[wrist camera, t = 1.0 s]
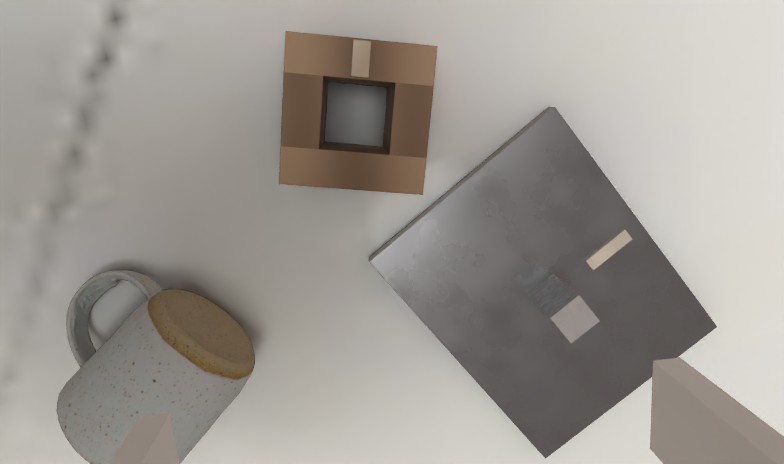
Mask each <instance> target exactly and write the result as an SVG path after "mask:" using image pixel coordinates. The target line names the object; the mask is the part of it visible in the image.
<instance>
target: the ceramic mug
mask: <svg viewBox="0 0 784 464" xmlns="http://www.w3.org/2000/svg"><path fill="white" fill-rule="evenodd" d="M120 279H123V280H126V281H130V282H131V283H132V284H134V285H135V286H136V287H138V288H139V289H140V290H141V292H142V293H144V294H145V295H146V297H147V301H145V302H144V303H142V304H141V305H140V306H139V307H138V308H137V309H136V310H135V311H134V312H133V313H132V314H131V315H130V316H129V317H128V318H127V319H126V320H125V321H124V323H123V324H122V325H121V326H120V327H119V328H118V330H117V331H116V332H115V333H114V334H113V335H112V336H111V337H110V338H109V339H108V340H107V341H106V342H105V343H104V344H103V345H102V346H101V347H100V348H99V349H98V351H97V352H96V350H95V348H94V346H93V343H92V341H91V338H90V334H89V326H88V320H89V312H90V310H91V309H92V305H93V304H94V303H95V301H96V300H97V299H99V298H100V297H101V296H102V295H103V294H104V293H105V292H106V291H107V290H108V289H110V288H112V287H115V286H116V285H117V283H118V281H119V280H120ZM66 326H67V336H68V340H69V344H70V347H71V350H72V352H73V355H74V357H75V359H76V360H77V362H78V364H79V366H80V367H81V368H80V369H79V371H78V372H77V373H76V374H75V375H74V376H73V377H72V378H71V379H70V380H69V381H68V382H67V383H66V385H65V386H64V388H63V389H62V391H61V392H60V394H59V397H58V402H57V414H58V420H59V423H60V426H61V428H62V431H63V433H64V434H65V436H66V438H67V439H68V441H69V442H70V444H71V445H72V447H73V448H74V449H75V450H76V452H78V453H79V454H80V455H81V456H82V457H83V458H84V459H85V460H86V461H88V462H89V463H90V464H109V463H110V461H111V460H112V458H113V457H114V455H115V454H116V452H117V451H118V449H119V448H120V446H121V445H122V443H123V442H124V440H125V439H126V437H127V436H128V434H129V433H130V431H131V430H132V428H133V427H134V425H135V424H136V422H137V421H138V419H139V418H140V416H148V415H157V414H166V413H170V415H171V421H172V426H173V431H174V437H175V442H176V448H177V453H178V458H179V464H180V463H181V462H182V461H183V460H184V458H185V457H186V456H187V454H188V453H189V452H190V451H191V450H192V449H193V447H194V446H195V445H196V444H197V443H198V442H199V440H200V439H201V438H202V437H203V436H204V435H205V433H206V432H207V431H208V430H209V428H210V427H211V426H212V425H213V423H214V422H215V421H216V420H217V418H218V417H219V416H220V414H221V413H222V412H223V411H224V410H225V409H226V408H227V407H228V405H229V404H230V403H231V402H232V401H233V400H234V399H235V397H236V396H237V395H238V394H239V392H240V391H241V389H242V388H243V386H244V385H245V383H246V381H247V380H248V378H249V377H250V375H251V373H252V371H253V368H254V364H255V355H254V349H253V347H252V344H251V341H250V340H249V338H248V336H247V335H246V333H245V331H244V330H243V329H242V328H241V326H240V325H239V324H238V323H237V322H236V321H235V320H234V319H233V318H232V317H231V316H230V315H229V314H228V313H226V312H225V311H224V310H222V309H221V308H220V307H218V306H217V305H216V304H214V303H212V302H211V301H209V300H207V299H206V298H204V297H202V296H200V295H197V294H195V293H192V292H189V291H185V290H175V289H171V290H164V291H162V290H161V288H160V287H159V286H158V285H157V284H156V283H155V282H154V281H153V280H151V279H149V278H148V277H146V276H145V275H143V274H141V273H137V272H134V271H127V270H114V271H107V272H103V273H100V274H98V275H96V276H94V277H92V278H91V279H89V280H88V281H87V282H86V283H85V284H84V285H83V286H82V287H81V288H80V289H79V290H78V291H77V293H76V294H75V295H74V297H73V299H72V300H71V303H70V305H69V308H68V312H67V322H66Z"/></svg>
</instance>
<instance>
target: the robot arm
mask: <svg viewBox="0 0 784 464" xmlns="http://www.w3.org/2000/svg"><path fill="white" fill-rule="evenodd" d="M650 449H651V450H652V451H653V452H654V453H655V455H656V456H657V457H658V458H659V459H660V460H661V461H662V463H663V464H784V436H782V435H781V434H780V433H778V432H777V431H776V430H774V429H773V428H772V427H770V426H769V425H768V424H766V423H765V422H764V421H762V420H761V419H760V418H759V417H757V416H756V415H755V414H753V413H752V412H751V411H749V410H748V409H747V408H745V407H744V406H743V405H741V404H740V403H739V402H737V401H736V400H735V399H734V398H732V397H731V396H730V395H728V394H727V393H726V392H724V391H723V390H722V389H720V388H719V387H718V386H716V385H715V384H714V383H712V382H711V381H710V380H709V379H707V378H706V377H705V376H703V375H702V374H701V373H699V372H698V371H697V370H695V369H694V368H693V367H691V366H690V365H689V364H687V363H686V362H685V361H684V360H682V359H681V358H672V359H662V360H653V377H652V407H651V436H650ZM109 464H179V458H178V453H177V448H176V442H175V437H174V431H173V426H172V421H171V415H170V413H166V414H157V415H148V416H140V418H139V419H138V421H137V422H136V424H135V425H134V427H133V428H132V430H131V431H130V433H129V434H128V436H127V437H126V439H125V440H124V442H123V443H122V445H121V446H120V448H119V449H118V451H117V452H116V454H115V455H114V457H113V458H112V460H111V461H110V463H109Z"/></svg>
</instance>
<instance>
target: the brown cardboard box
mask: <svg viewBox="0 0 784 464" xmlns="http://www.w3.org/2000/svg"><path fill="white" fill-rule="evenodd" d="M436 56H437V46H429V45H419V44H409V43H399V42H389V41H379V40H369V39H359V38H349V37H339V36H329V35H319V34H309V33H299V32H289V31H286V34H285V57H284V80H283V103H282V126H281V149H280V172H279V184H287V185H301V186H314V187H327V188H340V189H354V190H367V191H380V192H393V193H407V194H420V195H423V187H424V177H425V167H426V157H427V147H428V137H429V127H430V117H431V106H432V96H433V86H434V76H435V66H436ZM328 82H337V83H348V84H358V85H369V86H380V87H387V99H386V112H385V124H384V136H383V147H381V146H369V145H357V144H344V143H332V142H325V126H326V109H327V93H328Z"/></svg>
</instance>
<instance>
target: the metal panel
mask: <svg viewBox="0 0 784 464" xmlns="http://www.w3.org/2000/svg"><path fill="white" fill-rule="evenodd" d="M369 262H370V263H371V264H372V265H373V267H374V268H375V269H376V270H377V271H378V272H379V273H380V274H381V276H382V277H383V278H384V279H385V280H386V281H387V282H388V283H389V284H390V286H391V287H392V288H393V289H394V290H395V291H396V292H397V293H398V294H399V296H400V297H401V298H402V299H403V300H404V301H405V302H406V303H407V305H408V306H409V307H410V308H411V309H412V310H413V311H414V312H415V313H416V315H417V316H418V317H419V318H420V319H421V320H422V321H423V322H424V323H425V325H426V326H427V327H428V328H429V329H430V330H431V331H432V332H433V334H434V335H435V336H436V337H437V338H438V339H439V340H440V341H441V342H442V344H443V345H444V346H445V347H446V348H447V349H448V350H449V351H450V352H451V354H452V355H453V356H454V357H455V358H456V359H457V360H458V361H459V363H460V364H461V365H462V366H463V367H464V368H465V369H466V370H467V371H468V373H469V374H470V375H471V376H472V377H473V378H474V379H475V380H476V381H477V383H478V384H479V385H480V386H481V387H482V388H483V389H484V390H485V392H486V393H487V394H488V395H489V396H490V397H491V398H492V399H493V400H494V402H495V403H496V404H497V405H498V406H499V407H500V408H501V409H502V410H503V412H504V413H505V414H506V415H507V416H508V417H509V418H510V419H511V421H512V422H513V423H514V424H515V425H516V426H517V427H518V428H519V429H520V431H521V432H522V433H523V434H524V435H525V436H526V437H527V438H528V439H529V441H530V442H531V443H532V444H533V445H534V446H535V447H536V448H537V450H538V451H539V452H540V453H541V454H542V455H543V456H544V457H545V458H547V457H548V456H549V455H551V454H552V453H553V452H555V451H556V450H557V449H558V448H560V447H561V446H562V445H564V444H565V443H566V442H568V441H569V440H570V439H571V438H573V437H574V436H575V435H577V434H578V433H579V432H581V431H582V430H583V429H585V428H586V427H587V426H588V425H590V424H591V423H592V422H594V421H595V420H596V419H598V418H599V417H600V416H601V415H603V414H604V413H605V412H607V411H608V410H609V409H611V408H612V407H613V406H614V405H616V404H617V403H618V402H620V401H621V400H622V399H624V398H625V397H626V396H628V395H629V394H630V393H631V392H633V391H634V390H635V389H637V388H638V387H639V386H641V385H642V384H643V383H644V382H646V381H647V380H648V379H650V378H651V377H652V376H653V360H662V359H672V358H677V357H678V356H680V355H681V354H682V353H684V352H685V351H686V350H687V349H689V348H690V347H691V346H693V345H694V344H695V343H697V342H698V341H699V340H700V339H702V338H703V337H704V336H706V335H707V334H708V333H710V332H711V331H712V330H714V329H715V328H716V327H717V326H716V325H715V323H714V322H713V321H712V319H711V318H710V317H709V315H708V314H707V313H706V311H705V310H704V308H703V307H702V306H701V304H700V303H699V302H698V300H697V299H696V298H695V296H694V295H693V294H692V292H691V291H690V290H689V288H688V287H687V285H686V284H685V283H684V281H683V280H682V279H681V277H680V276H679V275H678V273H677V272H676V271H675V269H674V268H673V266H672V265H671V264H670V262H669V261H668V260H667V258H666V257H665V256H664V254H663V253H662V252H661V250H660V249H659V248H658V246H657V245H656V243H655V242H654V241H653V239H652V238H651V237H650V235H649V234H648V233H647V231H646V230H645V229H644V227H643V226H642V224H641V223H640V222H639V220H638V219H637V218H636V216H635V215H634V214H633V212H632V211H631V210H630V208H629V207H628V206H627V204H626V203H625V201H624V200H623V199H622V197H621V196H620V195H619V193H618V192H617V191H616V189H615V188H614V187H613V185H612V184H611V183H610V181H609V180H608V178H607V177H606V176H605V174H604V173H603V172H602V170H601V169H600V168H599V166H598V165H597V164H596V162H595V161H594V159H593V158H592V157H591V155H590V154H589V153H588V151H587V150H586V149H585V147H584V146H583V145H582V143H581V142H580V141H579V139H578V138H577V136H576V135H575V134H574V132H573V131H572V130H571V128H570V127H569V126H568V124H567V123H566V122H565V120H564V119H563V117H562V116H561V115H560V113H559V112H558V111H557V109H556V108H555V107H548V108H547V109H546V110H545V111H543V112H542V113H541V114H540V115H539V116H537V117H536V118H535V119H534V120H533V121H531V122H530V123H529V124H528V125H527V126H526V127H524V128H523V129H522V130H521V131H520V132H518V133H517V134H516V135H515V136H514V137H512V138H511V139H510V140H509V141H508V142H506V143H505V144H504V145H503V146H502V147H500V148H499V149H498V150H497V151H496V152H494V153H493V154H492V155H491V156H490V157H488V158H487V159H486V160H485V161H484V162H482V163H481V164H480V165H479V166H478V167H477V168H475V169H474V170H473V171H472V172H471V173H469V174H468V175H467V176H466V177H465V178H463V179H462V180H461V181H460V182H459V183H457V184H456V185H455V186H454V187H453V188H451V189H450V190H449V191H448V192H447V193H445V194H444V195H443V196H442V197H441V198H439V199H438V200H437V201H436V202H435V203H433V204H432V205H431V206H430V207H429V208H428V209H426V210H425V211H424V212H423V213H422V214H420V215H419V216H418V217H417V218H416V219H414V220H413V221H412V222H411V223H410V224H408V225H407V226H406V227H405V228H404V229H402V230H401V231H400V232H399V233H398V234H396V235H395V236H394V237H393V238H392V239H390V240H389V241H388V242H387V243H386V244H384V245H383V246H382V247H381V248H380V249H379V250H377V251H376V252H375V253H374V254H373V255H371V256H370V257H369Z"/></svg>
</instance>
